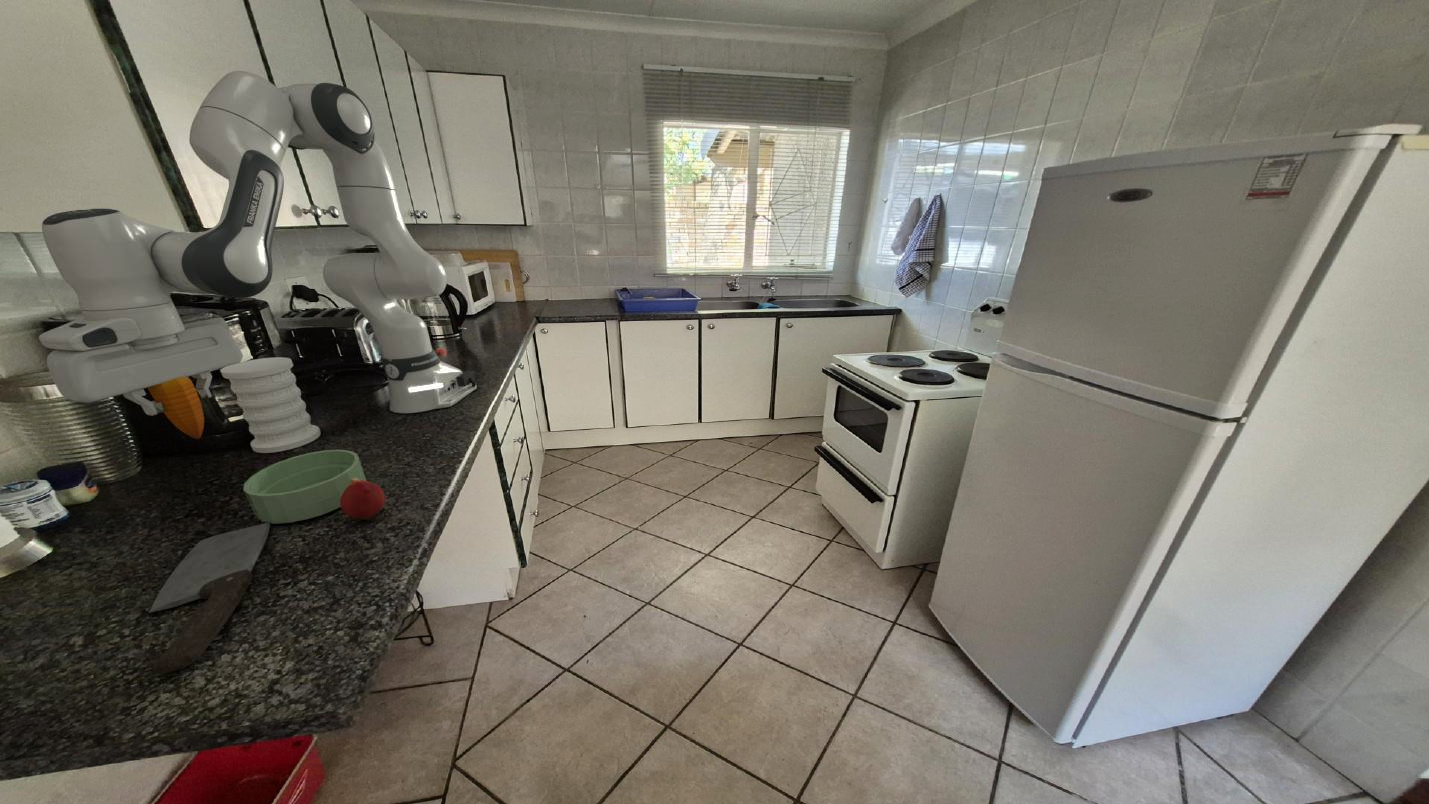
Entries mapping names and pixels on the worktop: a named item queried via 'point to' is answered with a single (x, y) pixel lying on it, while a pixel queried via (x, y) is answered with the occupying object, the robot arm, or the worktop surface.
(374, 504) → the onion
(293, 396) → the decorative container
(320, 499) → the bowl
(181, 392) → the carrot
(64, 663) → the worktop surface
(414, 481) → the worktop surface
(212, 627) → the cleaver
